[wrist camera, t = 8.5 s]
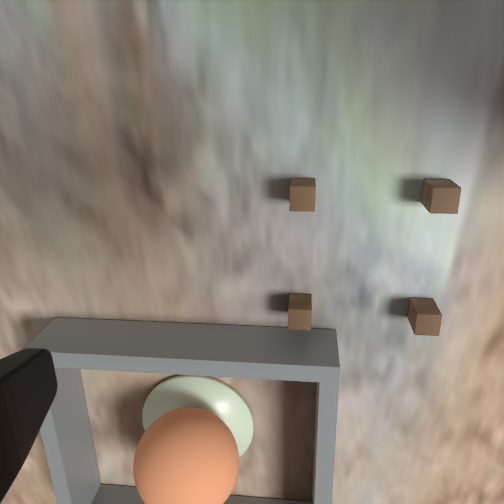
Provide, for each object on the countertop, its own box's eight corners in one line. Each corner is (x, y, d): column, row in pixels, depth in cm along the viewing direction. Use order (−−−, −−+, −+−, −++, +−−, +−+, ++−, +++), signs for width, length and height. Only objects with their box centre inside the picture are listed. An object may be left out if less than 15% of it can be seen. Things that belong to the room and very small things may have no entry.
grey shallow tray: (335, 329, 22) (340, 367, 19) (325, 513, 26) (327, 566, 23) (55, 317, 23) (21, 350, 20) (90, 492, 28) (65, 539, 25)
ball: (242, 387, 23) (230, 467, 19) (245, 463, 25) (234, 552, 20) (146, 384, 24) (110, 460, 19) (155, 458, 26) (125, 544, 21)
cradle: (449, 179, 19) (461, 187, 17) (430, 318, 21) (439, 335, 20) (291, 178, 19) (289, 186, 18) (289, 312, 22) (287, 329, 20)
